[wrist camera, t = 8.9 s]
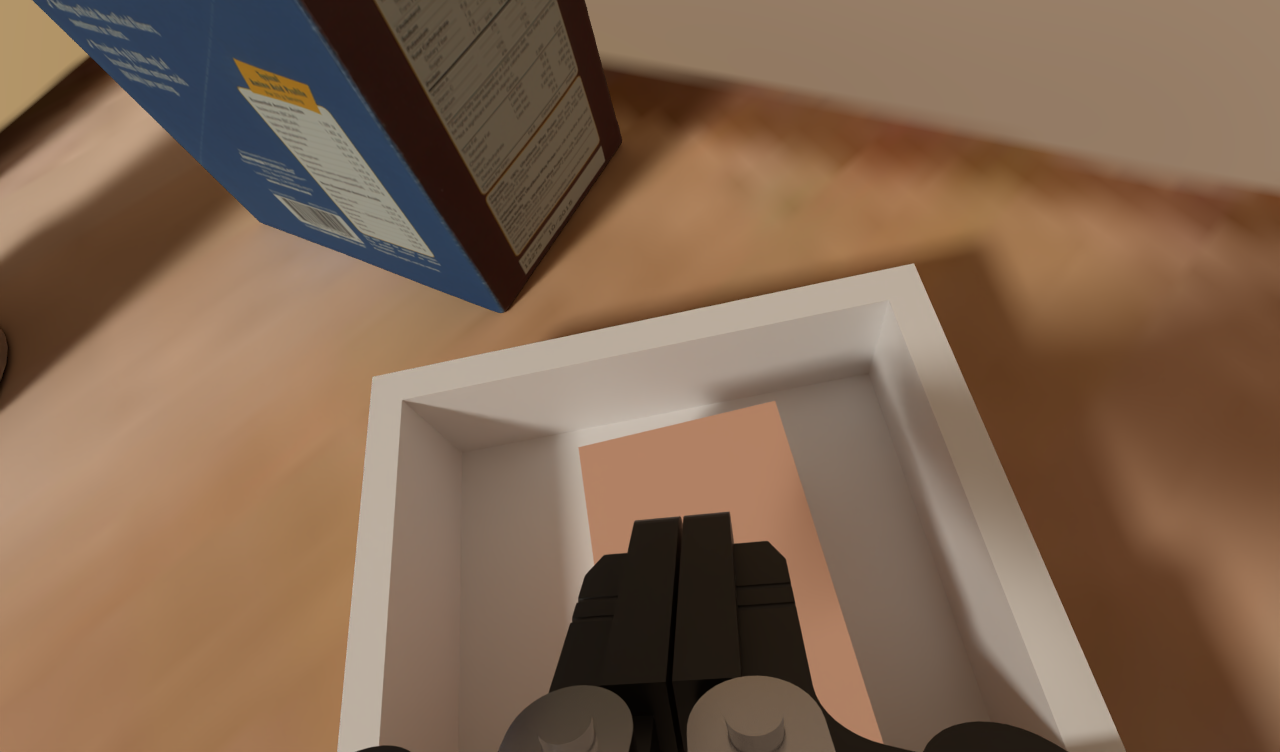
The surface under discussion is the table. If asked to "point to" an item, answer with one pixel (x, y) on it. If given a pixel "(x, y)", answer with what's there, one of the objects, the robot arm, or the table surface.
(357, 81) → the protein box
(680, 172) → the table surface
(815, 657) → the block
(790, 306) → the white inner box tray
